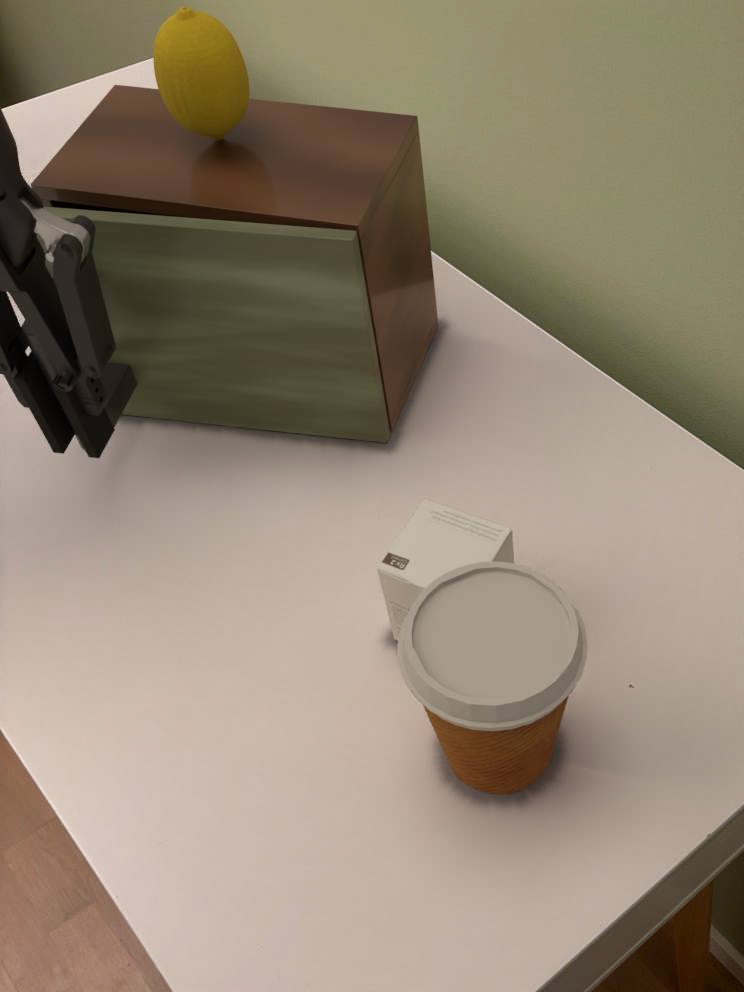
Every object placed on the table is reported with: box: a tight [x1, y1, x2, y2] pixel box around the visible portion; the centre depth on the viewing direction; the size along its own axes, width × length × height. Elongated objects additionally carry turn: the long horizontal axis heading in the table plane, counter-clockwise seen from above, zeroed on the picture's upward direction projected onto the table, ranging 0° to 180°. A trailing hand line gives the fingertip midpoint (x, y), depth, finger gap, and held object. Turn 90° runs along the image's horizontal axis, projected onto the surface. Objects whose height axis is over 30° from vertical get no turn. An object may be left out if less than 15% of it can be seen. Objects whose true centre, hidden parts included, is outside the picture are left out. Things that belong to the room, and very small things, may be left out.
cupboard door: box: [20, 207, 391, 451], centre depth 68 cm, size 8×22×17 cm, turn 79°
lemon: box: [153, 6, 250, 141], centre depth 64 cm, size 6×6×8 cm
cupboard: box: [30, 84, 439, 433], centre depth 73 cm, size 12×22×17 cm, turn 75°
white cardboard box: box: [376, 498, 515, 642], centre depth 63 cm, size 6×6×7 cm
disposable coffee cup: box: [396, 562, 589, 795], centre depth 56 cm, size 10×10×12 cm
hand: (84, 440), depth 70 cm, fingers closed on cupboard door, 2 cm apart
